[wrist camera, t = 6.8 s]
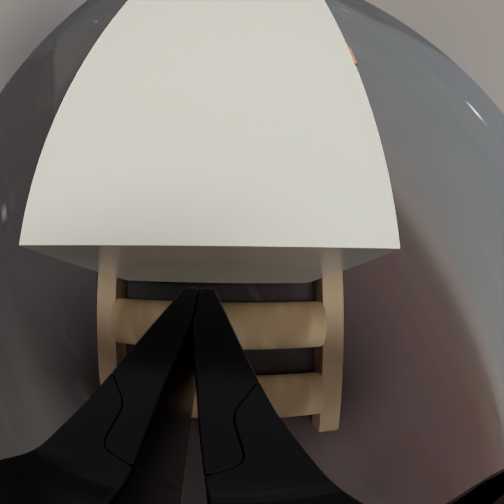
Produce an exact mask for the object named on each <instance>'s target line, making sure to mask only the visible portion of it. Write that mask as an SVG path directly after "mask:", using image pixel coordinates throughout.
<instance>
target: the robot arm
mask: <svg viewBox="0 0 504 504" xmlns="http://www.w3.org/2000/svg"><path fill="white" fill-rule="evenodd" d="M195 390H196V398H197V411H198V423H199V434H200V444H201V453H202V462H203V470H204V475H205V485H206V493H207V502H208V504H363V503H361V502H359V501H358V500H356V499H355V498H353V497H351V496H350V495H348V494H347V493H345V492H344V491H342V490H341V489H340V488H339V487H337V486H336V485H335V484H334V483H333V482H332V481H331V480H330V479H329V478H328V477H327V476H326V475H325V474H324V473H323V472H322V471H321V470H320V469H319V467H318V466H317V465H316V464H315V463H314V461H313V460H312V459H311V458H310V457H309V455H308V454H307V453H306V452H305V450H304V449H303V448H302V447H301V445H300V444H299V443H298V442H297V440H296V439H295V438H294V436H293V435H292V434H291V433H290V431H289V430H288V428H287V427H286V426H285V424H284V423H283V421H282V420H281V418H280V417H279V416H278V414H277V413H276V411H275V409H274V407H273V406H272V404H271V402H270V401H269V399H268V397H267V395H266V393H265V391H264V390H263V388H262V386H261V384H260V383H259V380H258V378H257V376H256V374H255V372H254V370H253V368H252V366H251V364H250V362H249V360H248V358H247V356H246V354H245V352H244V350H243V348H242V346H241V344H240V342H239V340H238V338H237V336H236V333H235V331H234V329H233V327H232V325H231V323H230V321H229V319H228V316H227V314H226V312H225V310H224V308H223V306H222V303H221V301H220V299H219V297H218V295H217V292H216V290H215V289H214V288H201V289H200V290H199V288H184V289H183V290H182V291H181V292H180V293H179V294H178V296H177V297H176V298H175V299H174V300H173V301H172V302H171V304H170V305H169V306H168V307H167V308H166V309H165V310H164V312H163V313H162V314H161V315H160V316H159V317H158V318H157V320H156V321H155V322H154V323H153V324H152V325H151V327H150V328H149V329H148V330H147V331H146V332H145V334H144V335H143V336H142V337H141V338H140V339H139V341H138V342H137V343H136V344H135V345H134V346H133V348H132V349H131V350H130V351H129V352H128V354H127V355H126V356H125V357H124V358H123V359H122V361H121V362H120V363H119V364H118V365H117V367H116V368H115V369H114V370H113V373H111V374H110V375H109V376H108V377H107V378H106V380H105V381H104V382H103V383H102V384H101V386H100V387H99V388H98V389H97V390H96V391H95V393H94V394H93V395H92V396H91V397H90V398H89V399H88V400H87V401H86V402H85V403H84V404H83V405H82V406H81V407H80V408H79V410H78V411H77V412H76V413H75V414H74V415H72V416H71V417H70V418H69V419H68V420H67V421H66V422H65V423H64V424H63V425H62V426H61V427H60V428H59V429H58V430H57V431H56V432H55V433H54V434H53V435H52V436H51V437H50V438H49V439H48V440H47V441H46V442H44V443H43V444H42V445H41V446H39V447H38V448H36V449H34V450H33V451H30V452H28V453H25V454H22V455H18V456H15V457H11V458H7V459H2V460H0V504H180V502H181V492H180V491H182V484H183V476H184V467H185V460H186V452H187V445H188V437H189V430H190V423H191V416H192V410H193V403H194V397H195ZM447 504H504V469H502V470H500V471H499V472H497V473H495V474H493V475H491V476H489V477H488V478H486V479H485V480H483V481H481V482H480V483H478V484H476V485H475V486H473V487H471V488H470V489H469V490H467V491H466V492H464V493H463V494H461V495H460V496H458V497H456V498H455V499H453V500H452V501H450V502H448V503H447Z"/></svg>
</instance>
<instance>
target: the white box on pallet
mask: <svg viewBox="0 0 504 504" xmlns="http://www.w3.org/2000/svg"><path fill="white" fill-rule="evenodd" d="M19 245H20V246H23V247H25V248H28V249H31V250H34V251H36V252H39V253H42V254H45V255H48V256H51V257H54V258H57V259H59V260H62V261H66V262H69V263H72V264H75V265H78V266H81V267H84V268H87V269H91V270H94V271H97V272H100V273H104V274H107V275H110V276H114V277H117V278H121V279H124V280H132V281H159V282H198V283H309V282H312V281H315V280H317V279H320V278H323V277H326V276H329V275H332V274H334V273H337V272H340V271H343V270H346V269H348V268H351V267H354V266H356V265H359V264H362V263H365V262H367V261H370V260H372V259H375V258H378V257H380V256H383V255H386V254H388V253H391V252H393V251H396V250H398V249H400V242H399V233H398V226H397V219H396V212H395V206H394V200H393V195H392V189H391V184H390V179H389V174H388V170H387V165H386V161H385V157H384V153H383V149H382V145H381V141H380V137H379V133H378V130H377V126H376V123H375V120H374V116H373V113H372V110H371V107H370V104H369V101H368V98H367V95H366V92H365V89H364V86H363V84H362V81H361V78H360V76H359V73H358V70H357V68H356V65H355V63H354V60H353V58H352V56H351V53H350V51H349V49H348V46H347V44H346V42H345V40H344V38H343V36H342V33H341V31H340V29H339V27H338V25H337V23H336V21H335V19H334V17H333V15H332V13H331V12H330V10H329V8H328V6H327V4H326V2H325V1H324V0H128V1H127V2H126V3H125V5H124V6H123V7H122V8H121V9H120V11H119V12H118V13H117V14H116V16H115V17H114V18H113V19H112V21H111V22H110V23H109V25H108V26H107V27H106V29H105V30H104V32H103V33H102V34H101V36H100V37H99V39H98V40H97V42H96V43H95V45H94V46H93V48H92V49H91V51H90V52H89V54H88V56H87V57H86V59H85V60H84V62H83V64H82V65H81V67H80V69H79V71H78V72H77V74H76V76H75V78H74V80H73V81H72V83H71V85H70V87H69V89H68V91H67V93H66V95H65V97H64V99H63V101H62V103H61V105H60V108H59V110H58V112H57V114H56V116H55V119H54V121H53V123H52V126H51V128H50V131H49V133H48V136H47V139H46V141H45V144H44V147H43V149H42V152H41V155H40V158H39V161H38V164H37V168H36V171H35V174H34V178H33V181H32V185H31V189H30V192H29V197H28V201H27V205H26V210H25V214H24V219H23V225H22V230H21V236H20V243H19Z"/></svg>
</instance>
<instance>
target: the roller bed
mask: <svg viewBox="0 0 504 504" xmlns="http://www.w3.org/2000/svg"><path fill="white" fill-rule="evenodd" d="M126 287H127V280H124V279H121V278H117V277H114V276H110V275H107V274H104V273H100V272H99V273H98V293H97V344H98V363H99V376H100V386H101V384H102V383H103V382H104V381H105V380H106V378H107V377H108V376H109V375H110V374H111V373H113V370H114V369H115V368H116V367H117V365H118V364H119V363H120V362H121V361H122V359H123V358H124V357H125V356H126V355H127V352H126V344H136V343H137V342H138V341H139V339H140V338H141V337H142V336H143V335H144V334H145V332H146V331H147V330H148V329H149V328H150V327H151V325H152V324H153V323H154V322H155V321H156V320H157V318H158V317H159V316H160V315H161V314H162V313H163V312H164V310H165V309H166V308H167V307H168V306H169V305H170V304H171V302H172V301H161V300H141V299H126ZM221 303H222V306H223V308H224V310H225V312H226V314H227V316H228V319H229V321H230V323H231V325H232V327H233V329H234V331H235V333H236V336H237V338H238V340H239V342H240V344H241V346H242V348H243V350H260V349H289V348H307V347H314V372H309V373H296V374H280V375H256V376H257V378H258V380H259V383H260V384H261V386H262V388H263V390H264V391H265V393H266V395H267V397H268V399H269V401H270V402H271V404H272V406H273V407H274V409H275V411H276V413H277V414H278V416H279V417H280V418H281V417H294V416H304V415H312V423H313V425H314V426H315V428H316V429H317V430H318V432H325V431H331V430H337V429H339V419H340V407H341V393H342V375H343V343H344V308H343V276H342V271H340V272H337V273H334V274H332V275H329V276H326V277H323V278H320V279H317V280H315V281H314V301H310V302H221ZM191 418H198V411H197V398H196V390H195V397H194V403H193V410H192V416H191Z"/></svg>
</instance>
